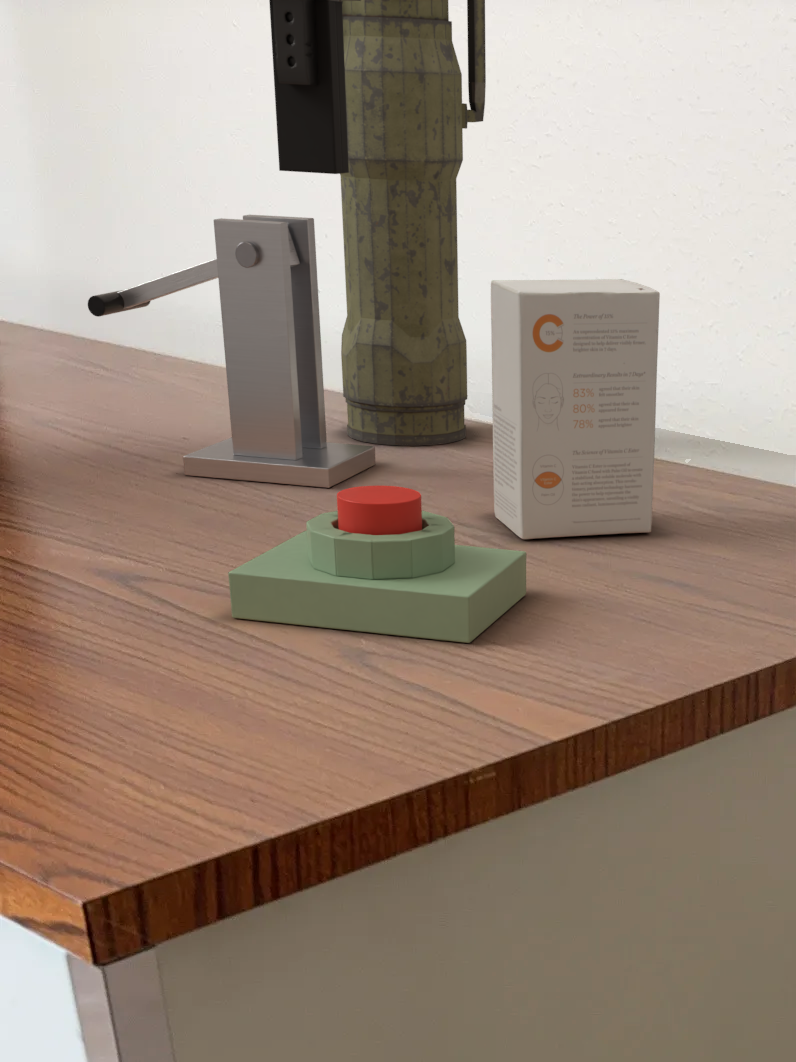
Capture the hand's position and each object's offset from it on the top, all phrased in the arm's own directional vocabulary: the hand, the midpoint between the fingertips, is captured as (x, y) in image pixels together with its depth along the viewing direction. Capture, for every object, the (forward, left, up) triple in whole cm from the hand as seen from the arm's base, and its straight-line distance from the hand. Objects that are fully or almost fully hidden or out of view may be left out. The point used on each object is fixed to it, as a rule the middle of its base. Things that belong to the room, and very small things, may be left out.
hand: (314, 171), depth 74 cm
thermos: (-12, +41, -19) cm, 47 cm away
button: (+3, -2, -15) cm, 16 cm away
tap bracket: (-15, +26, -19) cm, 36 cm away
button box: (+3, -2, -19) cm, 19 cm away
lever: (-19, +26, -9) cm, 34 cm away
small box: (+7, +18, -19) cm, 27 cm away
